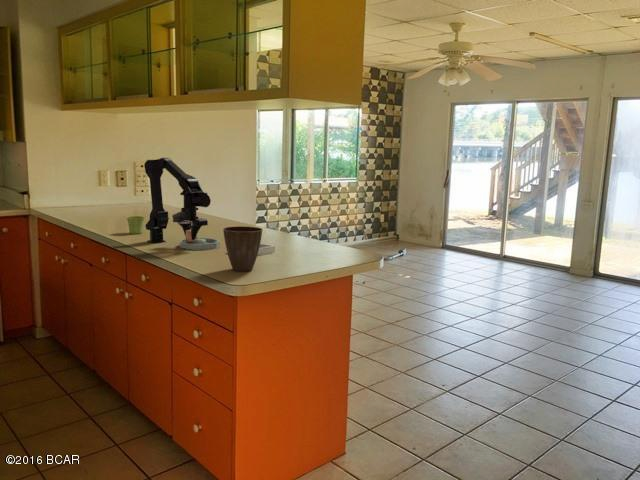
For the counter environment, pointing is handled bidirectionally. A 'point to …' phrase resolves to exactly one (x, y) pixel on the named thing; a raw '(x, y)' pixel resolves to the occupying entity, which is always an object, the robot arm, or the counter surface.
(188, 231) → the brown egg
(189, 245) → the groove tray
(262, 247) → the mug coaster frame
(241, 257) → the plant pot
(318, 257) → the counter surface
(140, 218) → the plant pot
